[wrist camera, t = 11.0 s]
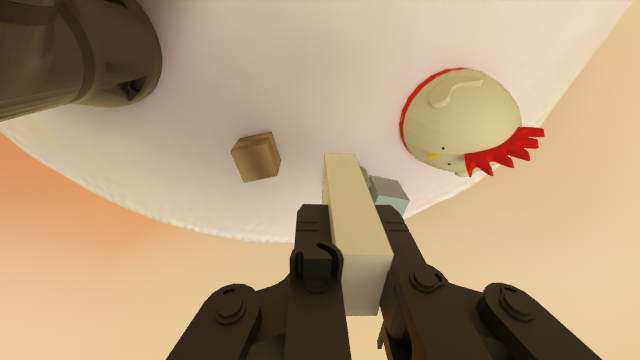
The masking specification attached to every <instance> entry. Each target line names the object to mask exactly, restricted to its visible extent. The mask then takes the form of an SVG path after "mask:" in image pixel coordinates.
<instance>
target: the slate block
mask: <svg viewBox="0 0 640 360" xmlns="http://www.w3.org/2000/svg"><path fill="white" fill-rule="evenodd" d="M369 179H370V182H371V184H372V185H371V186H370V187H369V188H368V190H369V193H370V195H371V198H372V200H373V203H374V205H391V206H393V207H394V208H395V209H396V210H397V211H398V212H399V213H400V214H401V216H403V214H404V212H405V210H406V208H407V206H408V204H409V202H410V200H409V198H408V197H407V195H406V194H405V192H404V190H403V189H402V187H401V186H400V184H399V182H398V181H395V180H390V179H385V178H380V177H374V176H370V177H369Z"/></svg>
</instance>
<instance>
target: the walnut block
mask: <svg viewBox="0 0 640 360" xmlns="http://www.w3.org/2000/svg"><path fill="white" fill-rule="evenodd" d="M230 152H231V154H232V156H233V158H234V161H235V163H236V165H237V168H238V170H239V172H240V175H241V177H242V179H243V182H249V181H254V180H259V179H264V178H269V177H274V176H277V174H278V170H279V166H280V162H281V160H280V157H279V154H278V151H277V148H276V145H275V142H274V138H273V135H272V132H268V133H264V134H259V135H255V136H250V137H246V138H241V139H239V141H238V142H237V143H236V145H235V146H234V147H233V149H232V150H231V151H230Z"/></svg>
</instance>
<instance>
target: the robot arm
mask: <svg viewBox="0 0 640 360" xmlns="http://www.w3.org/2000/svg"><path fill="white" fill-rule="evenodd" d="M160 73H161V51H160V46H159V42H158V38H157V36H156V33H155V30H154V28H153V26H152V24H151V22H150V20H149V18H148V17H147V15H146V13H145V12H144V10H143V9H142V8H141V6H140V5H139V4H138V2H137V1H136V0H0V122H1V121H5V120H9V119H13V118H16V117H20V116H24V115H27V114H31V113H35V112H39V111H43V110H47V109H50V108H54V107H58V106H61V105H65V104H80V105H90V106H100V107H118V106H124V105H127V104H130V103H133V102H136V101H139V100H141V99H143V98H144V97H146V96H147V95H148V94H149V93H150V92H151V91H152V90H153V89H154V87H155V86H156V84H157V82H158V80H159V77H160ZM379 307H380V308H381V312H382V315H383V319H384V321H383V324H382V327H381V331H380V334H379V337H378V340H377V342H378V343H377V344H378V349H381V348H382V345H383V342H384V346H385V350H386V355H387V358H388V360H602V359H601V358H600V357H599V356H597V355H596V354H595V353H594V352H593V351H592V350H591V349H590V348H589V347H587V346H586V345H585V344H584V343H583V342H582V341H581V340H580V339H578V338H577V337H576V336H575V335H574V334H573V333H572V332H571V331H569V330H568V329H567V328H566V327H565V326H564V325H563V324H562V323H560V322H559V321H558V320H557V319H556V318H555V317H554V316H553V315H551V314H550V313H549V312H548V311H547V310H546V309H545V308H544V307H543V306H541V305H540V304H539V303H538V302H537V301H536V300H535V299H533V298H532V297H531V296H529V295H528V294H526V293H525V292H524V291H522V290H520V289H518V288H516V287H514V286H511V285H507V284H504V283H491V284H490V285H488V286H486V287H485V289H484V291H483V292H479V291H475V290H472V289H468V288H464V287H461V286H457V285H454V284H451V283H449V282H448V280H447V279H446V278H445V277H444V276H443V274H442V273H441V272H440V271H438V270H437V269H436V268H434V267H433V266H430V265H428V264H426V262H425V260H424V258H423V256H422V254H421V252H420V250H419V249H418V247H417V245H416V243H415V241H414V239H413V237H412V235H411V233H410V232H409V229H408V227H407V226H406V224H405V222H404V220H403V218H402V216H401V214H400V213H399V212H398V211H397V210H396V209H395V208H394V207H393V206H391V205H374V203H373V200H372V198H371V195H370V193H369V190H368V188H367V185H366V182H365V180H364V177H363V175H362V172H361V170H360V167H359V164H358V162H357V159H356V157H355V154H331V153H325V156H324V173H323V190H322V204H303V205H302V206H301V208H300V209H299V210H298V212H297V221H296V234H295V246H294V250H293V251H292V253H291V256H290V273H289V274H288V276H287V277H286V278H285V279H284V280H282V281H281V282H279V283H278V284H275V285H273V286H271V287H267V288H264V289H261V290H258V291H255V290H254V289H253V288H252V287H250V286H247V285H245V284H231V285H227V286H224V287H222V288H220V289H219V290H217V291H215V292H214V293H212V295H211V296H210V297H209V298H208V299H207V300H206V301H205V302H204V304H203V305H202V307H201V308H200V310H199V311H198V313H197V314H196V316H195V317H194V319H193V320H192V321H191V323H190V325H189V326H188V327H187V329H186V330H185V332H184V333H183V335H182V336H181V338H180V339H179V341H178V342H177V344H176V345H175V347H174V348H173V350H172V351H171V353H170V354H169V356H168V357H167V359H166V360H351V353H350V345H349V338H348V329H347V322H346V316H377V314H378V310H379Z"/></svg>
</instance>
